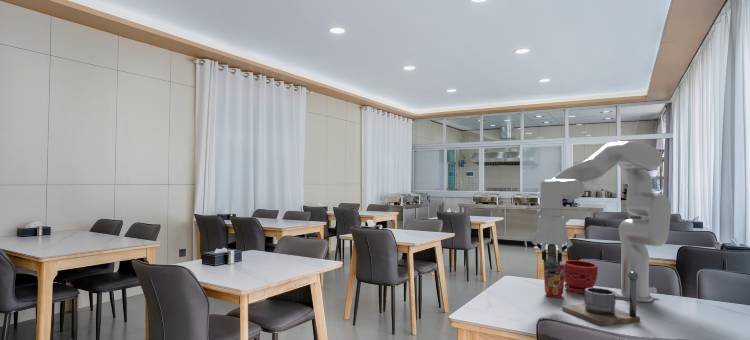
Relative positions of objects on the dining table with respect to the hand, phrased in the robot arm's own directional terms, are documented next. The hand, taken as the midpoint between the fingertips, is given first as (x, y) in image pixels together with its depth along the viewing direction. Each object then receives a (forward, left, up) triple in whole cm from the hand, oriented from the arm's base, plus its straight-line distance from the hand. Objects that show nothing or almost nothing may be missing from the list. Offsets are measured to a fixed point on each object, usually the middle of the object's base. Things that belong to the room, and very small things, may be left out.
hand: (551, 262), depth 160 cm
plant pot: (-27, -15, -17) cm, 35 cm away
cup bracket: (-9, +13, -17) cm, 23 cm away
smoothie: (-11, -12, -17) cm, 23 cm away
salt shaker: (0, 0, -5) cm, 5 cm away
